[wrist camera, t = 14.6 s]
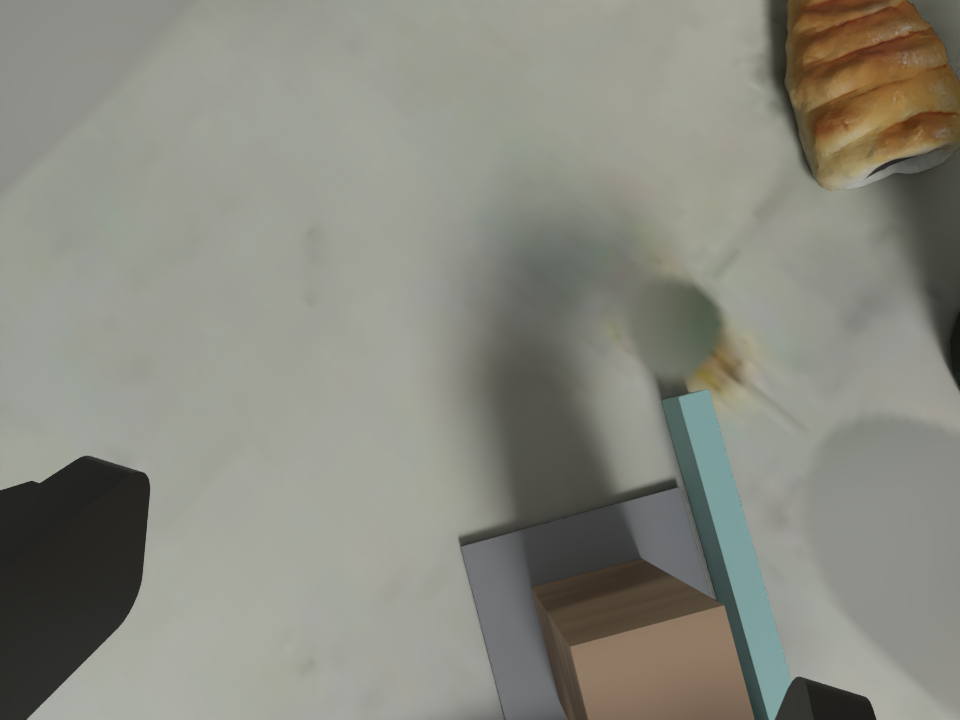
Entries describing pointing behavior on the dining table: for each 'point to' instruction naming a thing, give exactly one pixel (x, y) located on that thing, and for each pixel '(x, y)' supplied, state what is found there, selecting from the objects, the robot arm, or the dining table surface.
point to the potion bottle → (956, 349)
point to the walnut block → (640, 647)
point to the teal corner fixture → (625, 537)
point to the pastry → (869, 90)
